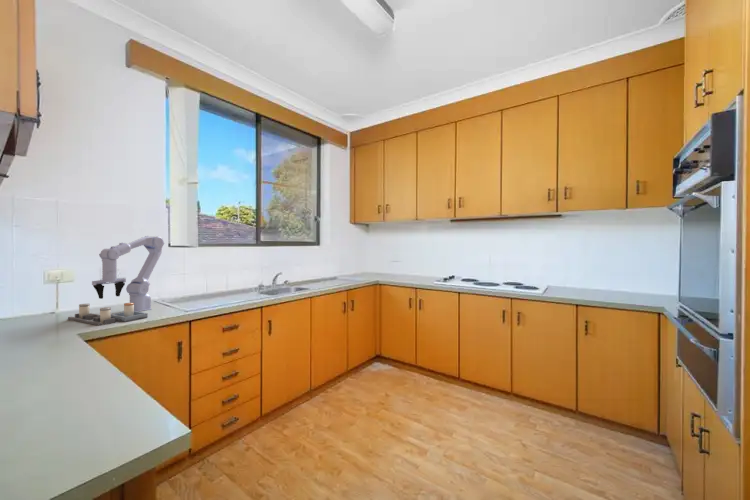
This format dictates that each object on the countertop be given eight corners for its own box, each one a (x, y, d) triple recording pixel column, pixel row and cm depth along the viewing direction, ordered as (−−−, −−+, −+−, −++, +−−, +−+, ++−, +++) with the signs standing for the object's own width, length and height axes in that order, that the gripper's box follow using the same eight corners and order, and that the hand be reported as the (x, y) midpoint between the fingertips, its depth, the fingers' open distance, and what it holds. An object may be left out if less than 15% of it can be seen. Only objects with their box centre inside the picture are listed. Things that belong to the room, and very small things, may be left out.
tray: (132, 314, 174) (132, 310, 174) (147, 317, 169) (147, 313, 169) (109, 318, 164) (109, 314, 164) (125, 321, 159) (125, 317, 159)
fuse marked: (128, 315, 169) (128, 302, 169) (135, 316, 169) (136, 302, 169) (121, 317, 165) (121, 303, 165) (129, 317, 165) (129, 304, 164)
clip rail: (91, 315, 171) (91, 311, 171) (121, 321, 161) (121, 317, 161) (68, 319, 162) (68, 315, 162) (98, 325, 152) (98, 321, 152)
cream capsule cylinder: (86, 316, 168) (86, 303, 167) (91, 317, 166) (91, 304, 166) (77, 318, 164) (77, 304, 164) (81, 319, 162) (81, 305, 162)
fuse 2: (107, 320, 161) (107, 306, 160) (112, 321, 159) (112, 307, 159) (97, 322, 157) (97, 308, 157) (102, 323, 155) (102, 309, 155)
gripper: (120, 270, 177) (120, 294, 178) (88, 272, 164) (88, 298, 165) (128, 270, 175) (128, 295, 175) (96, 273, 161) (96, 300, 162)
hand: (109, 297), depth 170 cm, fingers open, 7 cm apart
